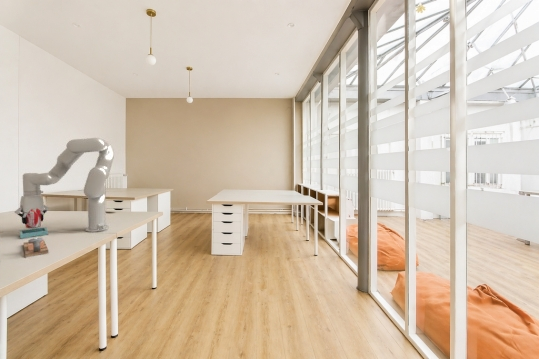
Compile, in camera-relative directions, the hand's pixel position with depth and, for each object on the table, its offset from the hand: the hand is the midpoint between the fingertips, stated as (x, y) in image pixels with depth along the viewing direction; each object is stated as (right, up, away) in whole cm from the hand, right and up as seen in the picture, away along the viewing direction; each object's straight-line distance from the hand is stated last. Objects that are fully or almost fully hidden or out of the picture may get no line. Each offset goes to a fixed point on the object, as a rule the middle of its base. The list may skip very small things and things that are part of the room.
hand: (33, 222), depth 152 cm
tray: (0, -8, +1) cm, 8 cm away
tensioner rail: (+24, -10, -24) cm, 35 cm away
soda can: (0, -4, 0) cm, 4 cm away
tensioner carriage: (+27, -8, -27) cm, 39 cm away
